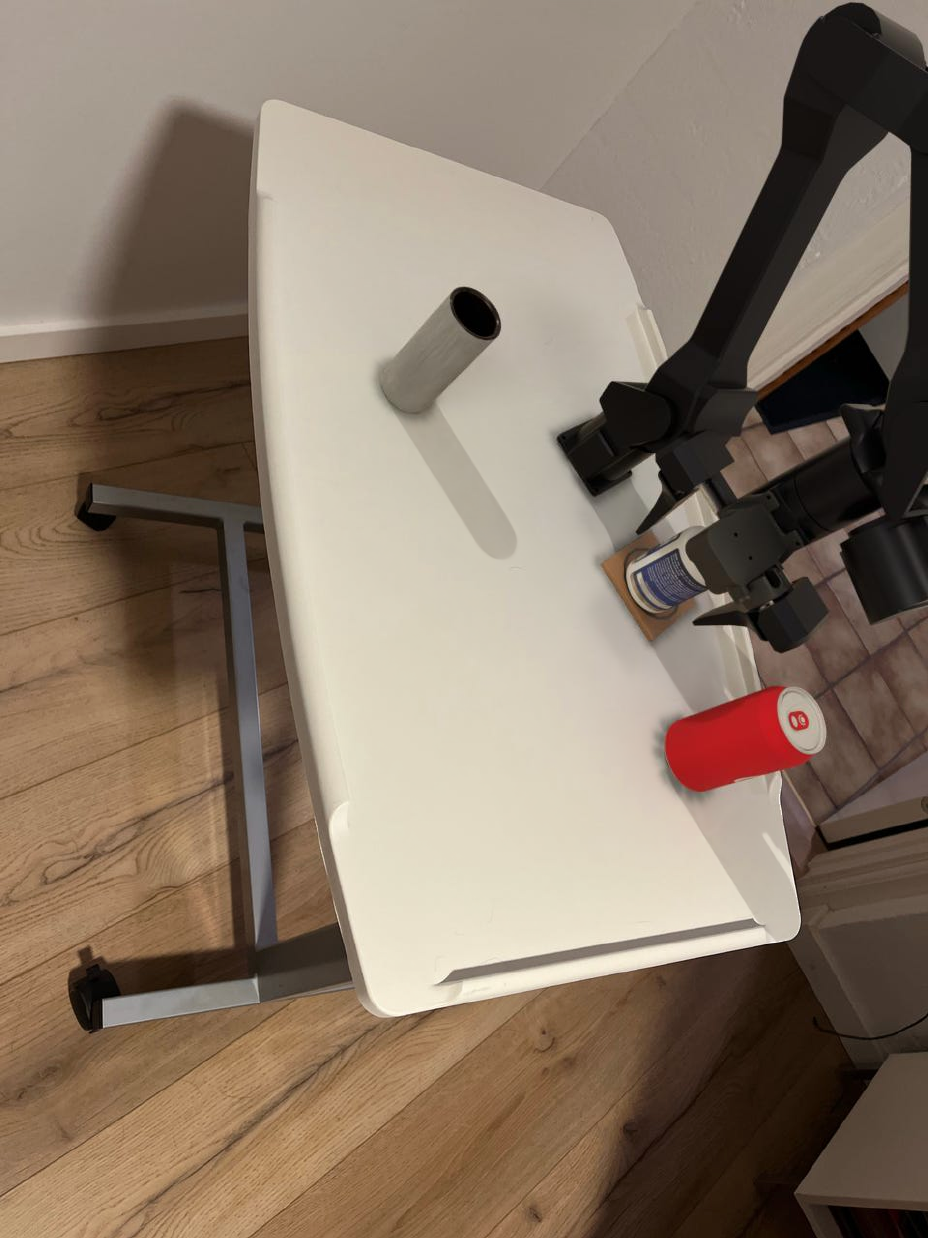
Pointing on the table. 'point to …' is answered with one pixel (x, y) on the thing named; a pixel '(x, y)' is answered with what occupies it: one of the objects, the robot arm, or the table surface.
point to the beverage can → (745, 738)
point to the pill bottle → (665, 574)
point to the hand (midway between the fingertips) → (666, 577)
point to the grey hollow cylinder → (441, 350)
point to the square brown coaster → (617, 573)
